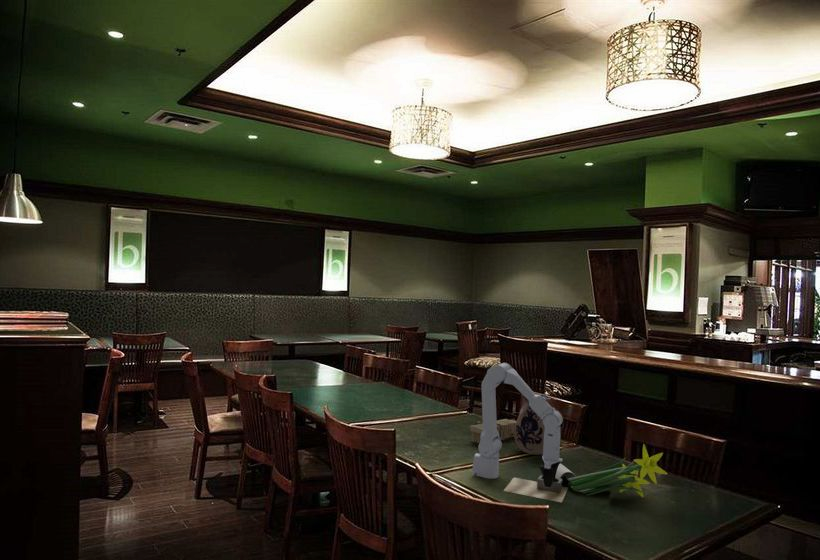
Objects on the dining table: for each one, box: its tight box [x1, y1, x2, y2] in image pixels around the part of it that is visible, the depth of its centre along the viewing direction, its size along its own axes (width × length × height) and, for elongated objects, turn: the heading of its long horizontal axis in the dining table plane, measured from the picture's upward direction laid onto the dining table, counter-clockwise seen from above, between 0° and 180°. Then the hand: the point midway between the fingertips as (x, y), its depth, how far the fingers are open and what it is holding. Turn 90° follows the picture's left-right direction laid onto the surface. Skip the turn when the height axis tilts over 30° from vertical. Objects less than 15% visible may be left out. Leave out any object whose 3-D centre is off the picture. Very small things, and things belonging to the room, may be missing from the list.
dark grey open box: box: [536, 474, 563, 493], centre depth 199 cm, size 8×5×4 cm, turn 66°
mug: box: [555, 463, 577, 483], centre depth 209 cm, size 10×7×12 cm
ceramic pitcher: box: [514, 394, 552, 456], centre depth 251 cm, size 18×21×25 cm
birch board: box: [503, 477, 569, 503], centre depth 198 cm, size 20×16×2 cm
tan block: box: [469, 418, 517, 444], centre depth 268 cm, size 8×8×29 cm
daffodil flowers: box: [567, 443, 668, 498], centre depth 200 cm, size 17×15×35 cm
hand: (549, 483), depth 199 cm, fingers open, 7 cm apart
